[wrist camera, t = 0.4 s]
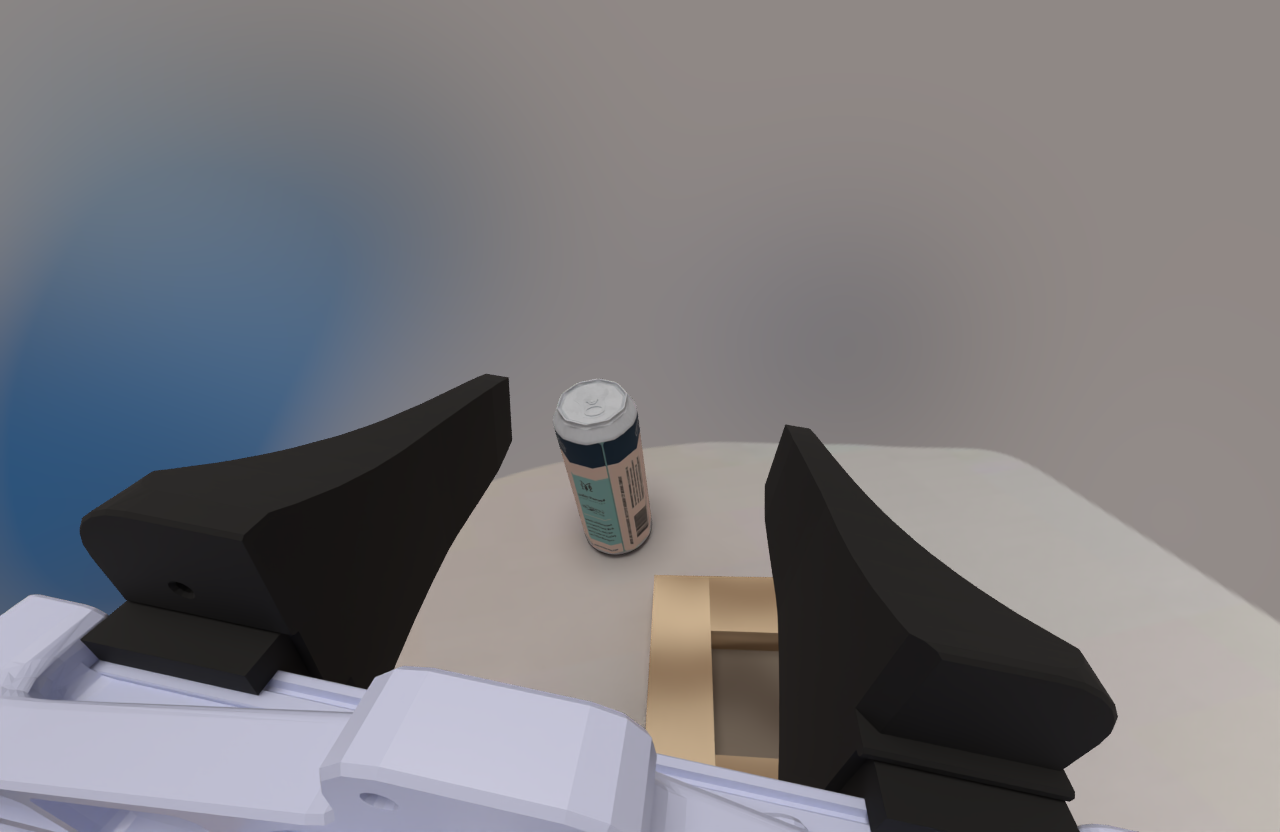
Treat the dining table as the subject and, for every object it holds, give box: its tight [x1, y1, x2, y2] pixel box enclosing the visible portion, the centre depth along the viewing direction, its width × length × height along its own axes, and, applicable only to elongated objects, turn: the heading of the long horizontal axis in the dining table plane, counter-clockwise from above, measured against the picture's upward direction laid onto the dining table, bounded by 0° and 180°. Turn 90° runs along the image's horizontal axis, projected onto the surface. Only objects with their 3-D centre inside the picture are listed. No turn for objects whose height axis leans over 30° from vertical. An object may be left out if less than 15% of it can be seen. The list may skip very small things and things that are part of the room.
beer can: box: [553, 379, 652, 554], centre depth 30 cm, size 5×5×12 cm
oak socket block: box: [646, 575, 779, 780], centre depth 24 cm, size 12×12×2 cm
